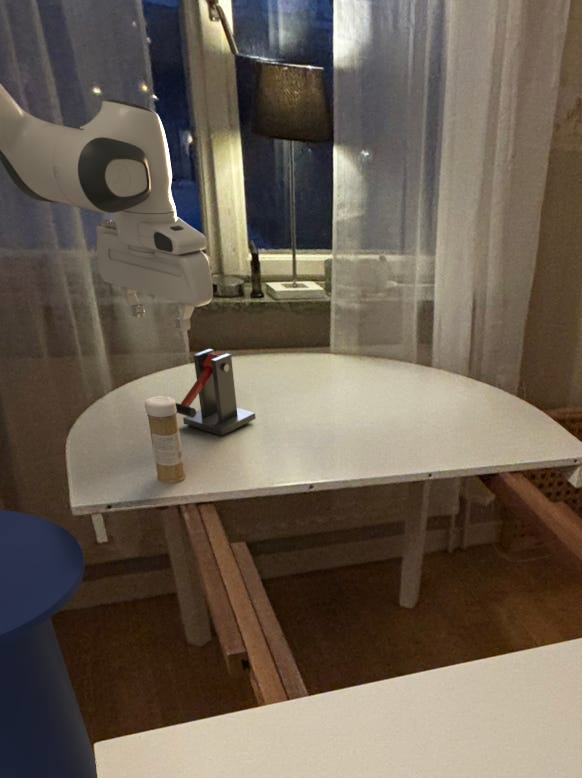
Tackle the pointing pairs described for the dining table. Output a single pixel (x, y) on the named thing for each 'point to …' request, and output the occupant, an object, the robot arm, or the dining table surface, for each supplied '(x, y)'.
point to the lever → (196, 388)
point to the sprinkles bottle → (165, 439)
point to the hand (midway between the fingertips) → (160, 322)
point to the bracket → (218, 398)
